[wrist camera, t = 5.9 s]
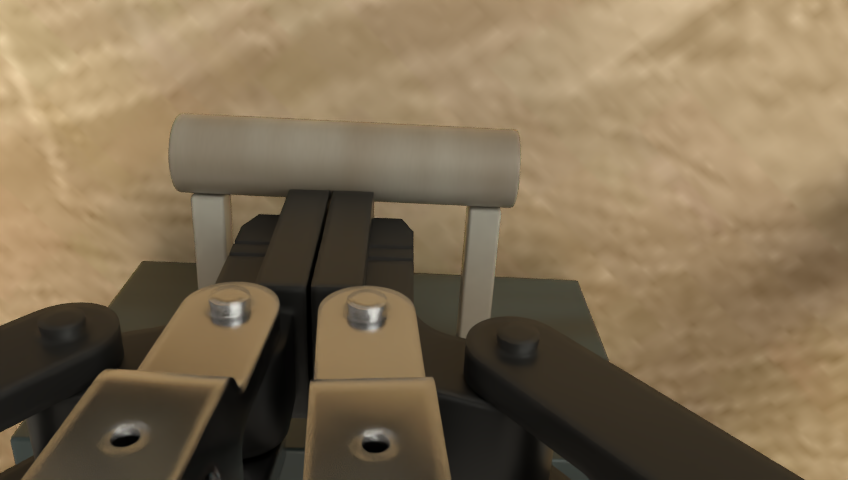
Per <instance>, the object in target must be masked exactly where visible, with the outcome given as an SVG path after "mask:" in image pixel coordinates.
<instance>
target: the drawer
mask: <svg viewBox="0 0 848 480" xmlns="http://www.w3.org/2000/svg"><path fill="white" fill-rule="evenodd" d="M520 165H521V146H520V137H519V134H518V131H516V130H510V129H490V128H470V127H450V126H430V125H409V124H389V123H369V122H349V121H329V120H309V119H289V118H268V117H248V116H228V115H208V114H188V113H182V114H179V115H178V116H177V117H176V118H175V120H174V122H173V125H172V129H171V133H170V139H169V169H170V175H171V179H172V182H173V185H174V187H175V188H176V190H178V191H179V192H186V193H193V195H192V197H191V206H192V218H193V231H194V243H195V255H196V263H177V262H155V261H143V262H141V264H140V265H139V266H138V268H137V269H136V270H135V272H134V273H133V274H132V276H131V277H130V278H129V280H128V281H127V282H126V284H125V285H124V286H123V288H122V289H121V290H120V292H119V293H118V295H117V296H116V297H115V299H114V300H113V301H112V303H111V304H110V305H109V307H108V308H110V309H111V310H113V311H114V312H115V313H116V314H117V316H118V318H119V322H120V329H121V332H127V331H134V330H140V329H147V328H153V327H159V326H163V325H167V324H168V323H169V321H170V320H171V318H172V317H173V315H174V314H175V312H176V311H177V309H178V308H179V306H180V305H181V303H182V302H183V301H184V299H185V298H186V297H188V296H189V295H190V294H192V293H193V292H195V291H197V290H199V289H201V288H204V287H207V286H210V285H214V284H215V283H216V280H217V278H218V276H219V274H220V272H221V270H222V268H223V265H224V263H225V261H226V259H227V257H228V256H229V252H230V250H231V248H232V246H233V229H232V212H231V195H249V196H270V197H287V195H288V192H289V190H290V189H301V190H330V191H331V197H332V194H333V191H362V192H374V201H376V202H397V203H418V204H440V205H461V206H467V208H466V220H465V232H464V245H463V257H462V269H461V275H443V274H421V273H414V307H415V311H416V314H417V315H418V317H419V318H420V319H421V320H422V321H423V322H424V323H425V324H427V325H428V326H430V327H432V328H434V329H436V330H438V331H440V332H443V333H445V334H449V335H453V336H457V337H461V338H465V339H466V336H467V334H468V331H469V330H470V329H471V328H472V327H473V326H474V325H476V324H477V323H479V322H481V321H483V320H486V319H489V318H494V317H501V316H516V317H524V318H529V319H533V320H537V321H539V322H542V323H544V324H547V325H548V326H550V327H552V328H554V329H556V330H557V331H559V332H561V333H562V334H564V335H566V336H567V337H569V338H571V339H572V340H574V341H575V342H577V343H579V344H580V345H582V346H584V347H585V348H587V349H589V350H590V351H592V352H594V353H595V354H597V355H599V356H600V357H602V358H604V359H605V360H607V361H609V360H608V357H607V355H606V352H605V349H604V347H603V344H602V342H601V339H600V337H599V334H598V332H597V329H596V326H595V324H594V321H593V319H592V316H591V314H590V311H589V309H588V306H587V303H586V301H585V298H584V296H583V293H582V291H581V288H580V286H579V283H578V281H575V280H554V279H531V278H509V277H495V269H496V259H497V249H498V240H499V230H500V220H501V210H500V207H503V208H511V207H513V206H514V204H515V202H516V198H517V194H518V188H519V179H520ZM306 429H307V419H306V418H291V422H290V427H289V430H288V433H287V435H286V459H285V462H284V465H283V468H282V472H281V475H280V478H279V480H303V471H304V457H305V443H306ZM11 446H12V450H13V455H14V459H15V464H18V463H20V462H22V461H24V460H26V459H27V458H29V457H31V456H33V455H34V454H33V449H32V445H31V441H30V437H29V433H28V428H27V424H26V420H24V421H23V422H22V423H21V425H20V426H19V427H18V429H17V430H16V431H15V433H14V434H13V435H12V437H11ZM552 465H553V466H554V467H556V468H557V469H558V470H560V471H561V472H562V473H564V474H565V475H566V476H567V477H569V478H570V479H571V480H590V479H589V478H588V477H587V476H586V475H585V474H583V473H582V472H581V471H580V470H578V469H577V468H576V467H574V466H573V465H572V464H570V463H569V462H568V461H566V460H565V459H564V458H562V457H561V456H560V455H558V454H557V453H556V452H553V458H552Z"/></svg>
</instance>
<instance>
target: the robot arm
mask: <svg viewBox="0 0 848 480" xmlns="http://www.w3.org/2000/svg"><path fill="white" fill-rule="evenodd" d="M291 418H306V419H307V429H306V443H305V457H304V471H303V480H571V479H570V478H569V477H567V476H566V475H565V474H564V473H562V472H561V471H560V470H558V469H557V468H556V467H554V466H553V465H552V458H553V452H556V453H557V454H558V455H560V456H561V457H562V458H564V459H565V460H566V461H568V462H569V463H570V464H572V465H573V466H574V467H576V468H577V469H578V470H580V471H581V472H582V473H583V474H585V475H586V476H587V477H588V478H589V479H590V480H804V479H803V478H801V477H799V476H798V475H796V474H794V473H793V472H791V471H789V470H788V469H786V468H784V467H783V466H781V465H779V464H778V463H776V462H774V461H773V460H771V459H769V458H768V457H766V456H765V455H763V454H761V453H760V452H758V451H756V450H755V449H753V448H751V447H750V446H748V445H746V444H745V443H743V442H741V441H740V440H738V439H736V438H735V437H733V436H731V435H730V434H728V433H726V432H725V431H723V430H721V429H720V428H718V427H716V426H715V425H713V424H711V423H710V422H708V421H706V420H705V419H703V418H702V417H700V416H698V415H697V414H695V413H693V412H692V411H690V410H688V409H687V408H685V407H683V406H682V405H680V404H678V403H677V402H675V401H673V400H672V399H670V398H668V397H667V396H665V395H663V394H662V393H660V392H658V391H657V390H655V389H653V388H652V387H650V386H648V385H647V384H645V383H643V382H642V381H640V380H638V379H637V378H635V377H634V376H632V375H630V374H629V373H627V372H625V371H624V370H622V369H620V368H619V367H617V366H615V365H614V364H612V363H610V362H609V361H607V360H605V359H604V358H602V357H600V356H599V355H597V354H595V353H594V352H592V351H590V350H589V349H587V348H585V347H584V346H582V345H580V344H579V343H577V342H575V341H574V340H572V339H571V338H569V337H567V336H566V335H564V334H562V333H561V332H559V331H557V330H556V329H554V328H552V327H550V326H548V325H547V324H544V323H542V322H539V321H537V320H533V319H529V318H524V317H516V316H501V317H494V318H489V319H486V320H483V321H481V322H479V323H477V324H476V325H474V326H473V327H472V328H471V329H470V330H469V331H468V334H467V336H466V339H465V338H461V337H457V336H453V335H449V334H445V333H443V332H440V331H438V330H436V329H434V328H432V327H430V326H428V325H427V324H425V323H424V322H423V321H422V320H421V319H420V318H419V317H418V315H417V314H416V311H415V307H414V265H413V231H412V230H411V229H410V228H409V227H408V225H407V224H406V223H405V222H404V221H403V220H402V219H388V218H374V192H362V191H333V194H332V197H331V191H330V190H301V189H290V190H289V192H288V195H287V197H286V200H285V203H284V205H283V208H282V211H281V214H280V215H264V214H259V215H258V216H256V217H255V218H253V219H252V220H250V221H249V222H247V223H246V224H244V225H243V226H242V227H241V229H240V231H239V233H238V235H237V237H236V240H235V244H233V246H232V248H231V250H230V252H229V256H228V257H227V259H226V261H225V263H224V265H223V268H222V270H221V272H220V274H219V276H218V278H217V280H216V283H215V284H214V285H210V286H207V287H204V288H201V289H199V290H197V291H195V292H193V293H192V294H190V295H189V296H188V297H186V298H185V299H184V301H183V302H182V303H181V305H180V306H179V308H178V309H177V311H176V312H175V314H174V315H173V317H172V318H171V320H170V321H169V323H168V324H167V325H163V326H159V327H153V328H147V329H140V330H134V331H127V332H121V329H120V322H119V318H118V316H117V314H116V313H115V312H114V311H113V310H111V309H110V308H108V307H106V306H102V305H99V304H94V303H66V304H60V305H55V306H51V307H47V308H44V309H41V310H38V311H36V312H33V313H31V314H28V315H26V316H23V317H21V318H18V319H16V320H14V321H11V322H9V323H6V324H4V325H1V326H0V432H2V431H4V430H6V429H8V428H10V427H12V426H13V425H15V424H17V423H19V422H21V421H23V420H26V424H27V428H28V433H29V437H30V441H31V445H32V449H33V454H34V455H33V456H31V457H29V458H27V459H26V460H24V461H22V462H20V463H18V464H16V465H15V466H13V467H11V468H9V469H7V470H5V471H4V472H2V473H0V480H279V478H280V475H281V472H282V468H283V465H284V462H285V459H286V435H287V433H288V430H289V427H290V422H291Z"/></svg>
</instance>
